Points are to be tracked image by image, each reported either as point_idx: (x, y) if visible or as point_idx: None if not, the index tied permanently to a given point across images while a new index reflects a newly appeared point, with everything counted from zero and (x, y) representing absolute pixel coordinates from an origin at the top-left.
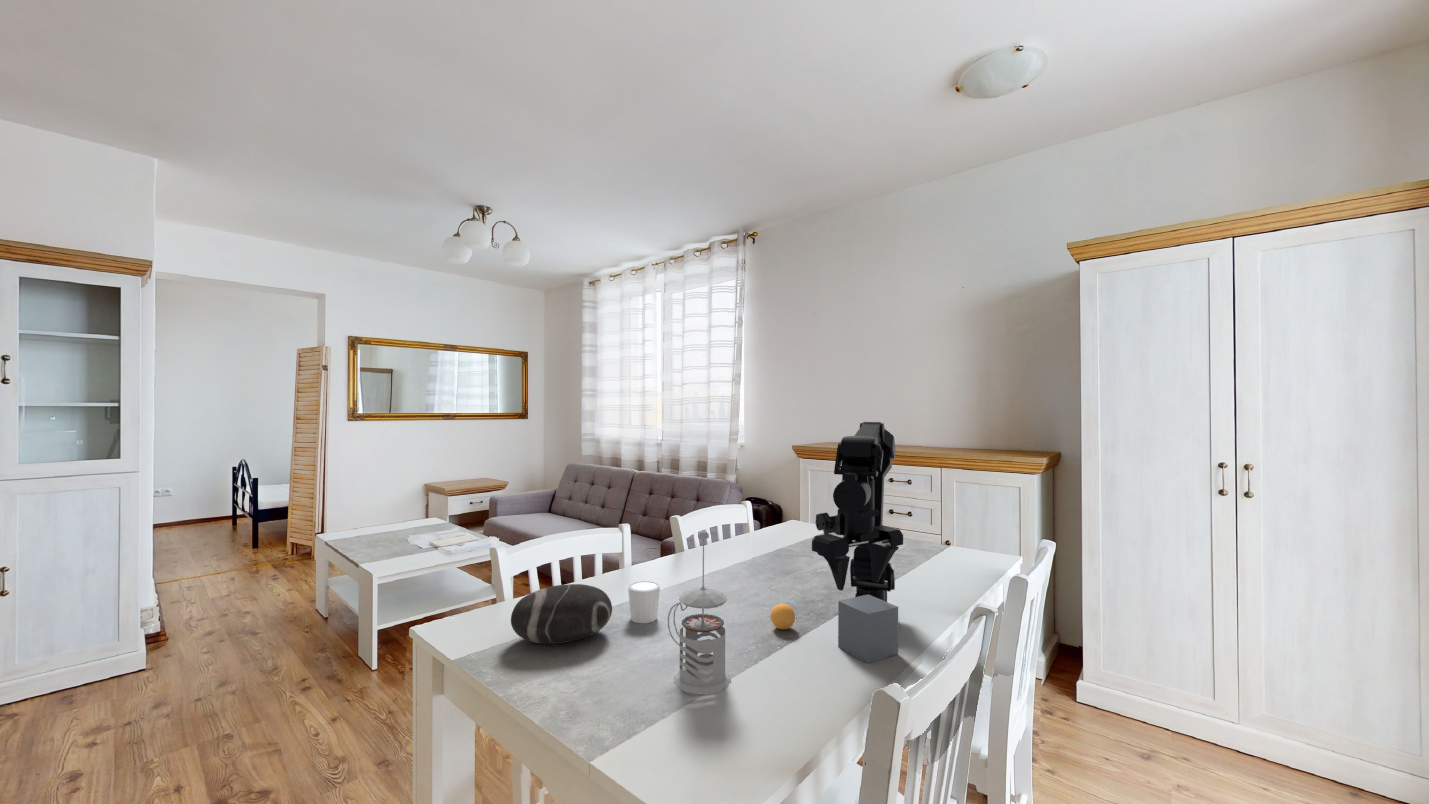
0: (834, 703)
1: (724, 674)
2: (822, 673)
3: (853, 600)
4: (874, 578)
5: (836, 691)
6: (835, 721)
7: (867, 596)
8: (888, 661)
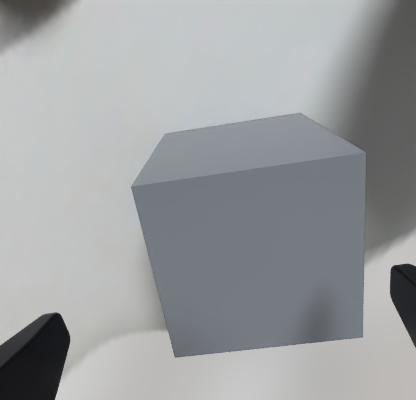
0: None
1: None
2: (45, 254)
3: (215, 209)
4: (401, 294)
5: None
6: None
7: (334, 181)
8: None
